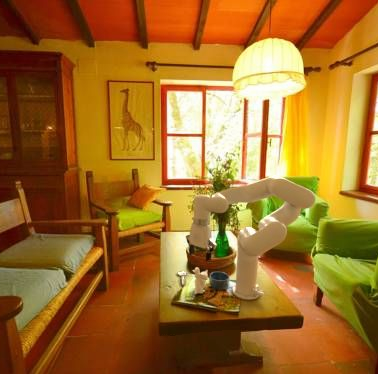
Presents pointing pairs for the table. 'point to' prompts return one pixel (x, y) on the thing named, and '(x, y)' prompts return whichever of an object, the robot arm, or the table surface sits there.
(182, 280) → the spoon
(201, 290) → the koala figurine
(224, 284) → the bowl
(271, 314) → the table surface
